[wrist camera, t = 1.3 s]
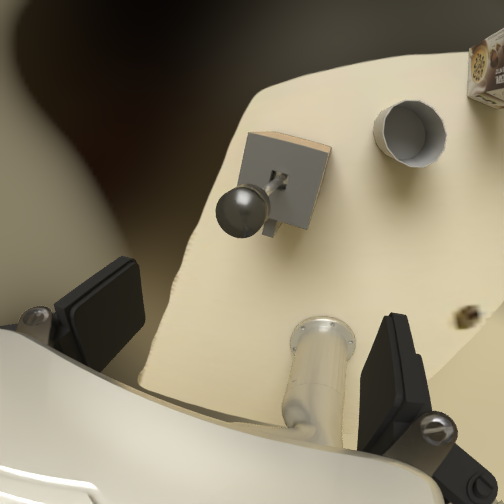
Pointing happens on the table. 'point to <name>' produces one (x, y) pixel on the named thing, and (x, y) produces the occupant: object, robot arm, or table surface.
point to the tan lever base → (289, 162)
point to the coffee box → (487, 71)
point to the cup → (410, 133)
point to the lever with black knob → (247, 206)
